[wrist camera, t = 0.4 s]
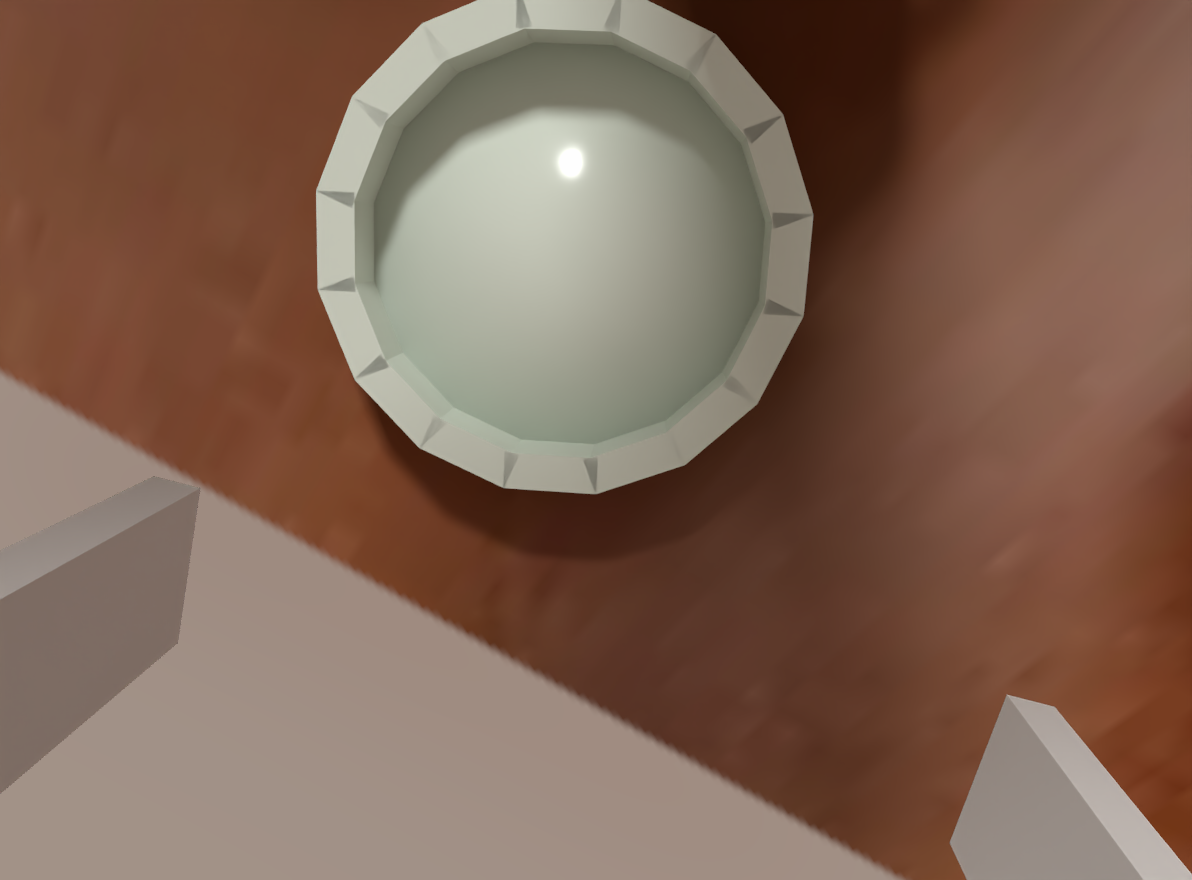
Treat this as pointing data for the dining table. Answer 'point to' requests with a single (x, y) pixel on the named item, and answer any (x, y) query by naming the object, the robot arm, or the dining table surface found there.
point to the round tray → (563, 240)
